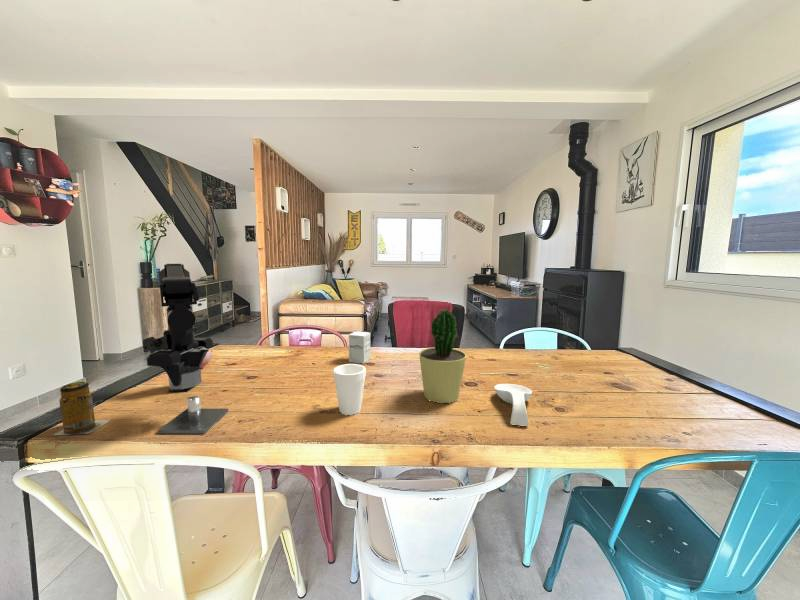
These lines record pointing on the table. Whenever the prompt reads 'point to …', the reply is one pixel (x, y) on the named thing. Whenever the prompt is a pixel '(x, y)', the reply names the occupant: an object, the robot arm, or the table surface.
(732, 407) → the table surface
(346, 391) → the foam cup
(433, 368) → the potted cactus
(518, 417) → the spoon rest
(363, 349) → the supplement box
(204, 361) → the decorative fruit
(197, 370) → the octagonal metal collar
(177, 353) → the robot arm
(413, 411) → the table surface
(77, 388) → the condiment
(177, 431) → the piston post
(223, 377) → the table surface
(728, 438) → the table surface
